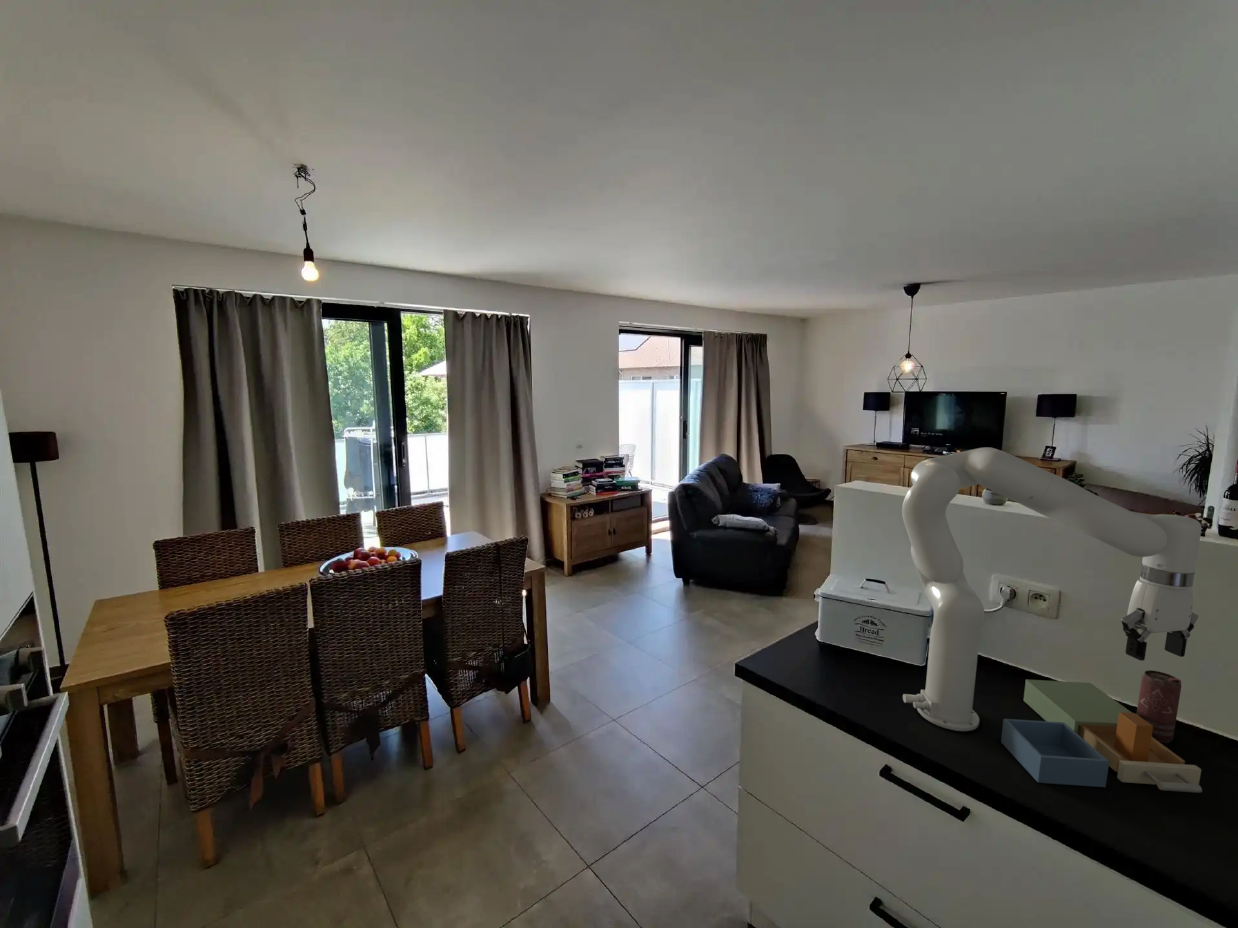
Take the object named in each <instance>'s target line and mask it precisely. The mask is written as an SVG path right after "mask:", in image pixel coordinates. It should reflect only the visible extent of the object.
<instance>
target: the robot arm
mask: <svg viewBox="0 0 1238 928" xmlns="http://www.w3.org/2000/svg"><path fill="white" fill-rule="evenodd" d="M910 481H911V484H912V486H911V487H910V488H909V489H908V491H907V492H906V495H905V497H904V499H903V503H902V507H901V515H902V521H903V524H904V527H905V530H906V533H907V536H908V540H909V542H910V545H911V547H910V556H911V559H912V562H913V564H914V568H915V570H916V572H917V575H918V577H919V580H920V583H921V585H922V588H923V590H924V593H925V595H926V598H927V599H928V602H929V604H930V607H931V608H932V611H933V619H932V625H931V628H930V629H931V630H930V635H929V642H928V644H929V645H928V655H927V658H928V659H927V667H926V668H927V669H926V680H925V689H920V693H917V694H908V693H903V694H902V700H903V703H904V704H912V707H913V708H914V709H916V710H917V713H919V714H920V716H921V717H922V718H924V719H925V720H927V721H928V722H929V723H931V724H933V725H935V726H938V727H940V728H943V729H946V730H951V731H956V732H970V731H971V732H972V731H975V730H976V729H977V728H978V727H979V726H980V716H979V715H978V713H977V712H976V711H975V710H974V709H973V708H974V707H973V706H974V695H975V686H976V677H977V676H976V675H977V668H978V667H977V666H978V658H979V657H978V656H979V647H980V641H981V636H982V631H983V629H984V625H985V621H986V616H985V615H986V614H985V608H984V605H983V603H982V601H981V599H980V597H979V596H978V594H977V593H976V592H975V591H974V589H972V587H971V586H970V584H969V582H968V580H967V577H966V575H965V573H964V559H963V557H962V554H961V552H960V550H959V548H958V547H957V543H956V540H955V539H954V536H953V534H952V530H951V528H950V526H949V525H950V524H949V522H948V520H947V514H946V513H947V509H948V506H949V504H950V503H951V502H952V501H953V500H954V499H955V497H957V496H958V494H959V492H960V489H963V488H968V487H973V486H977V485H980V486H982V487H984V488H986V489H988V490H990V491H992V492H994V493H996V494H998V495H1001V496H1002V497H1004V498H1007V499H1009V500H1011V501H1013V502H1015V503H1017V504H1019V505H1021V506H1024V507H1026V508H1028V509H1030V510H1032V511H1034V512H1036V513H1037V514H1040V515H1042V516H1043V517H1044V516H1045V517H1046V518H1048V519H1050V520H1053V521H1054V522H1057V523H1060V524H1063V525H1065V526H1068V527H1070V528H1072V529H1074V530H1077V531H1079V532H1081V533H1083V534H1086V535H1088V536H1089V537H1092V538H1094V539H1095V540H1098V541H1100V542H1102V543H1104V544H1107V545H1108V546H1111V547H1113V548H1115V549H1117V550H1119V551H1121V552H1122V553H1125V554H1127V555H1130V556H1132V557H1138V558H1142V560H1141V561H1142V562H1141V567H1140V568H1141V569H1140V575H1139V579H1137V580H1136V582H1135V584H1134V587H1133V589H1132V593H1131V595H1130V600H1129V604H1128V607H1127V612H1126V613H1127V614H1126V615H1125V616H1124V617H1122V618H1121V625H1122V631H1123V632H1124V633H1125V636H1126V637H1127V639H1126V646H1125V654H1126V655H1127V656H1129V657H1132V658H1134V659H1136V660H1138V661H1141V662H1142V661H1145V660H1146V652H1147V646H1148V642H1147V641H1146V640H1147V638H1148V637H1149V636H1150V635H1151V634H1152V633H1153V634H1157V633H1166V638H1165V641H1164V642H1165V644H1164V650H1165V652H1168V653H1171V654H1173V655H1175V656H1178V657H1180V658H1183V657H1185V655H1186V649H1187V642H1188V639H1189V638H1190V637H1191V631H1192V630H1193V629H1194V628H1195V624H1196V622H1197V621H1198V619H1199V615H1198V614H1196V613H1194V612H1193V601H1194V599H1193V594H1194V593H1193V587H1194V586H1193V585H1194V580H1195V579H1194V578H1195V573H1196V566H1197V560H1198V554H1199V547H1200V543H1201V542H1200V541H1201V535H1202V524H1201V523H1200V522H1199V520H1197V519H1195V518H1192V517H1188V516H1184V515H1177V514H1166V513H1161V514H1160V513H1159V514H1151V513H1143V512H1138V511H1131V510H1129V509H1127V508H1125V507H1123V506H1120V505H1119V504H1118V505H1117V504H1115V503H1113V502H1111V501H1109V500H1107V499H1105V498H1103V497H1101V496H1099V495H1097V494H1095V493H1093V492H1091V491H1089V490H1087V489H1085V488H1084V487H1081V486H1080V485H1078V484H1076V483H1074V482H1072V481H1070V480H1068V479H1066V478H1063V477H1061V476H1059V475H1058V474H1057V475H1056V474H1055V473H1052V472H1050V471H1048V470H1046V469H1044V468H1042V467H1039V466H1037V465H1035V464H1032V463H1031V462H1028V461H1026V460H1024V459H1022V458H1019V457H1018V456H1015V455H1013V454H1011V453H1008V452H1007V451H1003V450H1000V449H997V448H994V447H986V446H985V447H978V448H973V449H969V450H964V451H959V452H955V453H950V454H946V455H941V456H935V457H931V458H927V459H924V460H922V461H919V463H917V464H916V465H915V466H914V467H913V469H912V471H911V474H910ZM1138 630H1141V633H1140V632H1139V631H1138Z"/></svg>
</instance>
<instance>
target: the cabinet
mask: <svg viewBox="0 0 1238 928" xmlns="http://www.w3.org/2000/svg"><path fill="white" fill-rule="evenodd" d="M1023 702H1024V703H1025V704H1027V705H1028V706H1029V708H1031V709H1032V710H1033V711H1034V712H1035V713H1037V714H1038V715H1039V716H1040V717H1041V718H1042V719H1043V721H1048V722H1064V723H1065V724H1067V725H1068V726H1069V727H1070V728H1071V729H1072V730H1073V731H1075V732H1076V733H1077V734H1078V726H1079V725H1096V726H1113V727H1117V724H1118V717H1119V712H1124V713H1133V712H1132V711H1130V710H1129V709H1127V708H1126V707H1125V706H1124V705H1122V704H1121V703H1119V702H1118V701H1117V700H1115V699H1114V698H1113V697H1111V696H1109V695H1108V694H1107V693H1105V692H1104V691H1102V689H1100V688H1099V687H1097V686H1096V685H1094V684H1093V683H1091V682H1082V681H1081V682H1079V681H1065V680H1063V681H1061V680H1044V679H1043V680H1042V679H1025V684H1024V692H1023Z"/></svg>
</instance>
